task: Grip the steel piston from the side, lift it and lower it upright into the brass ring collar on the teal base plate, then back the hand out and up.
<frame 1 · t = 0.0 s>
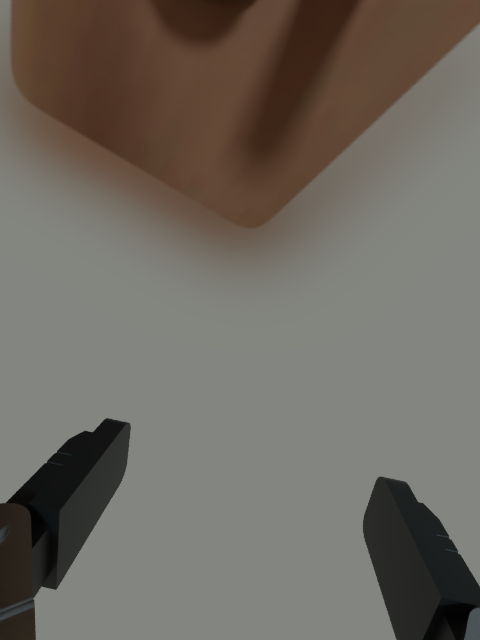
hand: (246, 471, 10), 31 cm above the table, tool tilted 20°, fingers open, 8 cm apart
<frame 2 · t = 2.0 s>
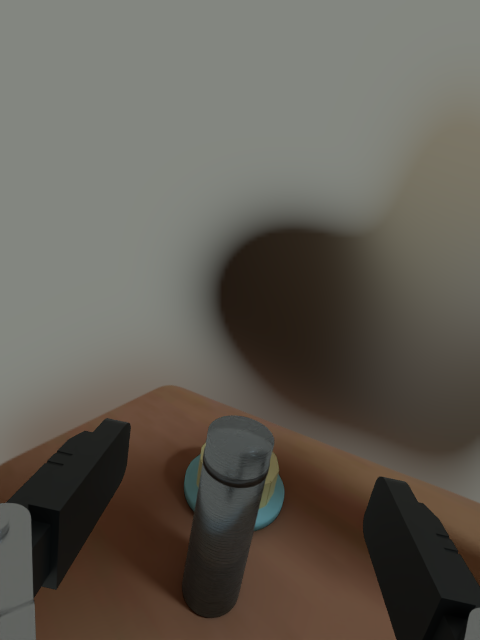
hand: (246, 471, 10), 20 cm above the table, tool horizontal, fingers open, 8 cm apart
ring collar: (233, 488, 36), on the table
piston: (211, 584, 26), on the table
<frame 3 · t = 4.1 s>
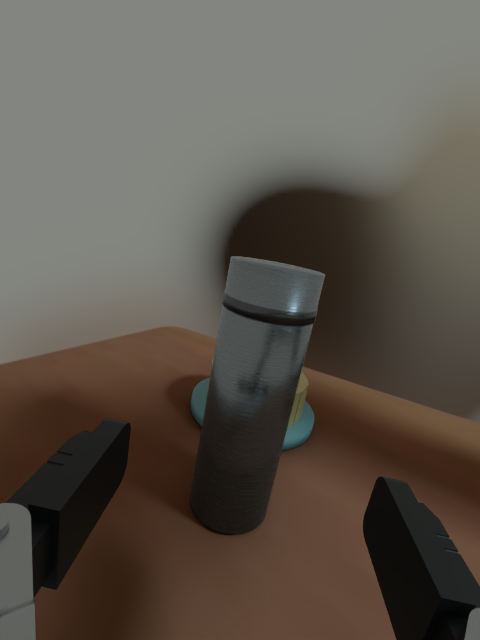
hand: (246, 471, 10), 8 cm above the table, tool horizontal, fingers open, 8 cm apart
ring collar: (251, 411, 30), on the table
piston: (228, 499, 20), on the table
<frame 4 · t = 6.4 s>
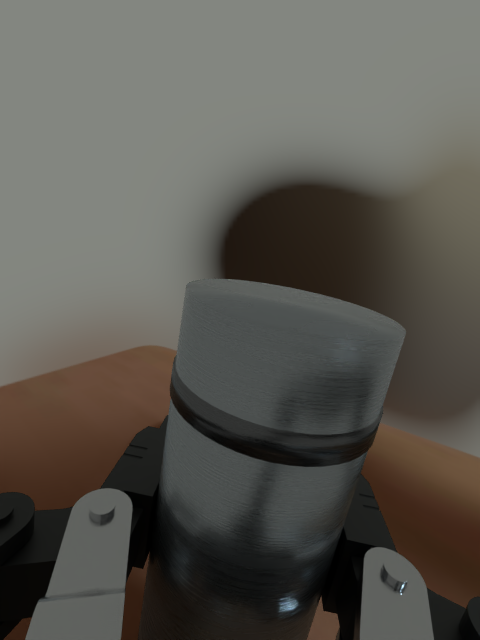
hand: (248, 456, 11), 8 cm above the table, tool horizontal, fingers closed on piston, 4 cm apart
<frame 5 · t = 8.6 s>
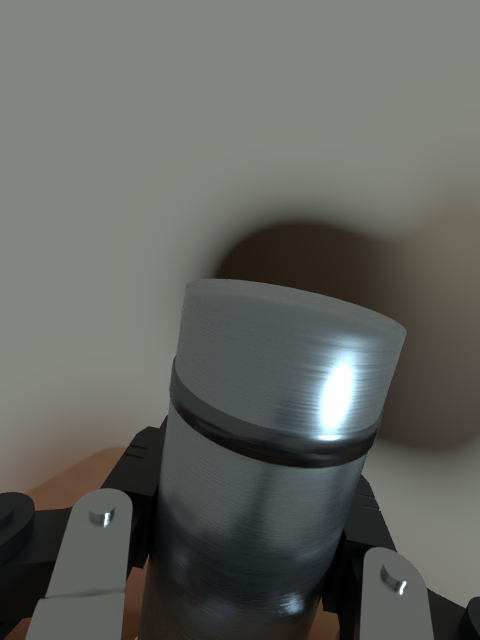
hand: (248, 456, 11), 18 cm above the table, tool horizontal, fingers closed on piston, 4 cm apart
when the fingers open (10 cm above the table, at t = 11.1 s): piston drops 1 cm, resting on ring collar.
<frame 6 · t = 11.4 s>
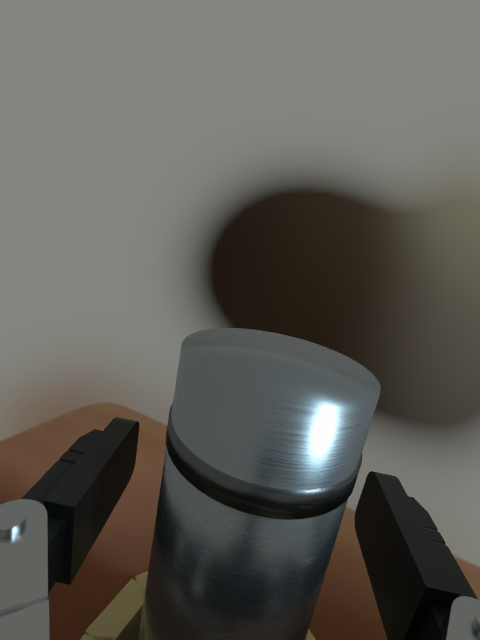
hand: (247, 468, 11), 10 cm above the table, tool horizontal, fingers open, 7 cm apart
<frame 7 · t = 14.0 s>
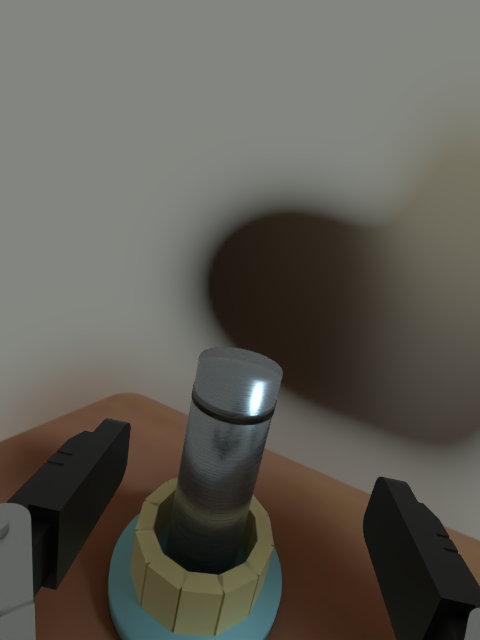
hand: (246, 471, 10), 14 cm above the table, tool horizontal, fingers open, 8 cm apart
ring collar: (196, 570, 22), on the table
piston: (199, 560, 21), point 1 cm above the table, touching ring collar
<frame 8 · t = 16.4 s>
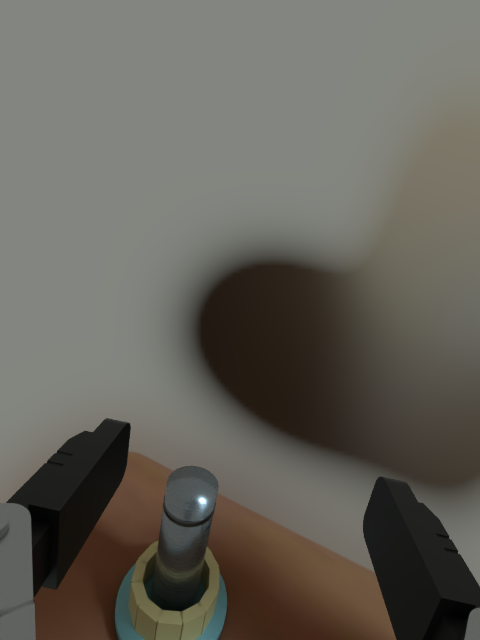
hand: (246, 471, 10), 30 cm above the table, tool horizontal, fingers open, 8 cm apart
ring collar: (172, 604, 33), on the table
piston: (173, 598, 33), point 1 cm above the table, touching ring collar
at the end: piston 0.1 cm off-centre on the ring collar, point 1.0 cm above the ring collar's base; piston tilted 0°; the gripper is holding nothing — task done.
